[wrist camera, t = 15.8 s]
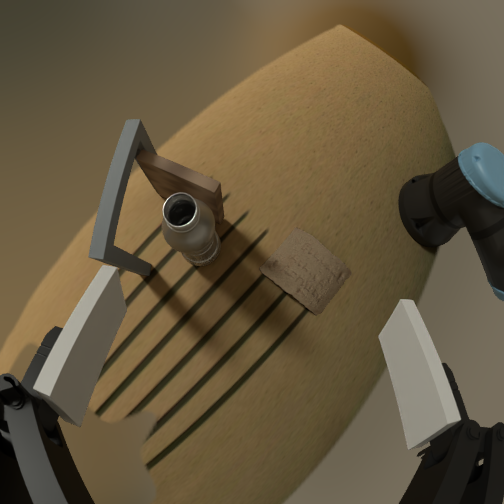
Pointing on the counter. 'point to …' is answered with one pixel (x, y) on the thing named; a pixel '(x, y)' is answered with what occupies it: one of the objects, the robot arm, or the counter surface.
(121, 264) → the door frame
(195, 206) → the silver metal bottle
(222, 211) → the door
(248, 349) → the counter surface
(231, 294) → the counter surface
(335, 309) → the counter surface
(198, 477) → the counter surface
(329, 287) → the clay tablet
